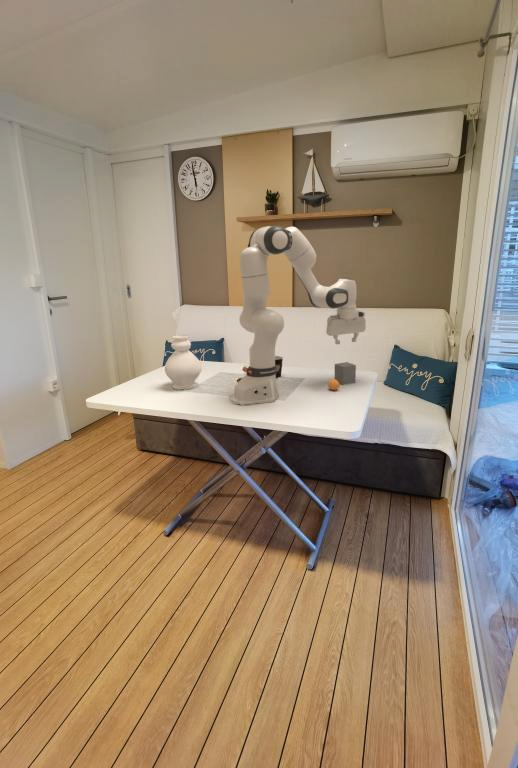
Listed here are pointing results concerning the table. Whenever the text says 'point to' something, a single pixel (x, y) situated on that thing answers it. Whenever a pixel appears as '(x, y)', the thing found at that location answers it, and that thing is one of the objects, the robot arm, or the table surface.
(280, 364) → the coffee mug
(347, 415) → the table surface
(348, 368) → the grey block
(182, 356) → the decorative vase
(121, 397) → the table surface
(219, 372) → the table surface
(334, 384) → the ball
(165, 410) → the table surface
